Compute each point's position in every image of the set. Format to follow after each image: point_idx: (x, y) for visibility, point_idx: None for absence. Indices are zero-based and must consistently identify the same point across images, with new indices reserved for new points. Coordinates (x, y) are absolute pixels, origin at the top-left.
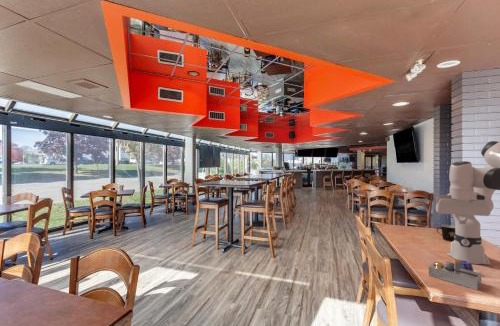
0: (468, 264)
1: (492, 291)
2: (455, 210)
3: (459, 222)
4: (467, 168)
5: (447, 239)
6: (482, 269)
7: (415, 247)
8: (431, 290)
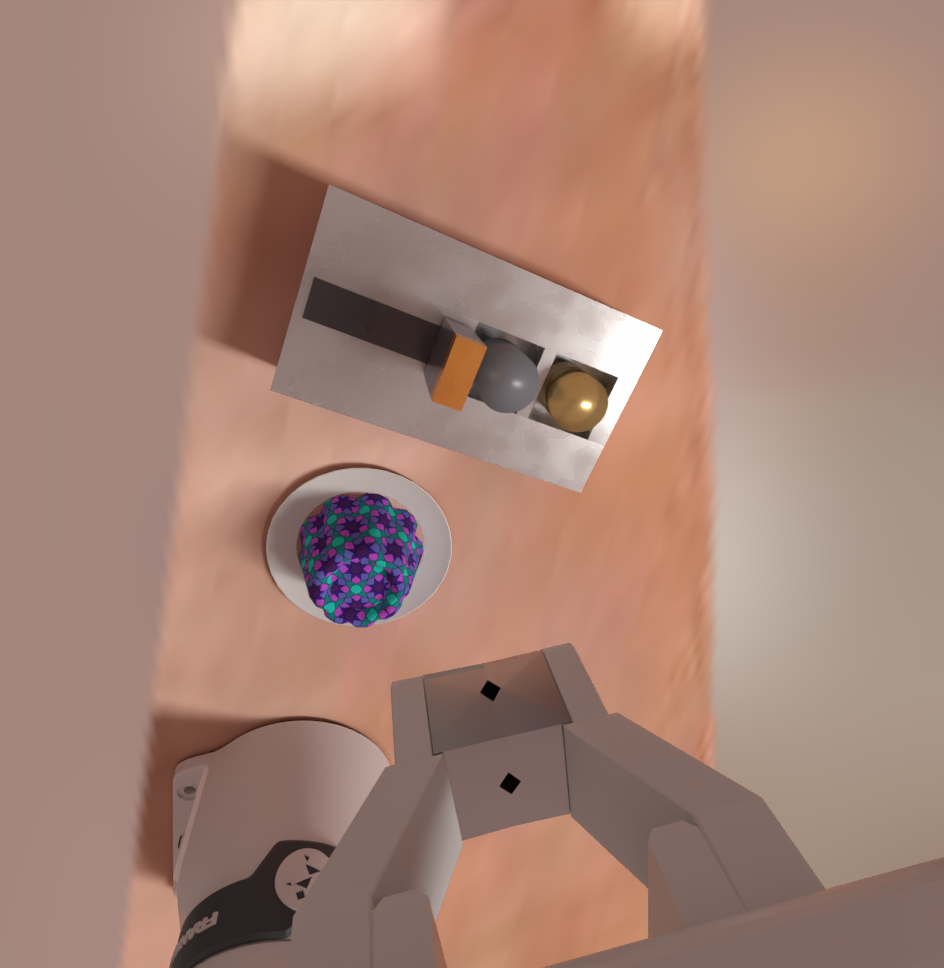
0: (335, 555)
1: (229, 225)
2: None
3: (576, 664)
4: None
5: None
6: (234, 655)
7: None
8: None
